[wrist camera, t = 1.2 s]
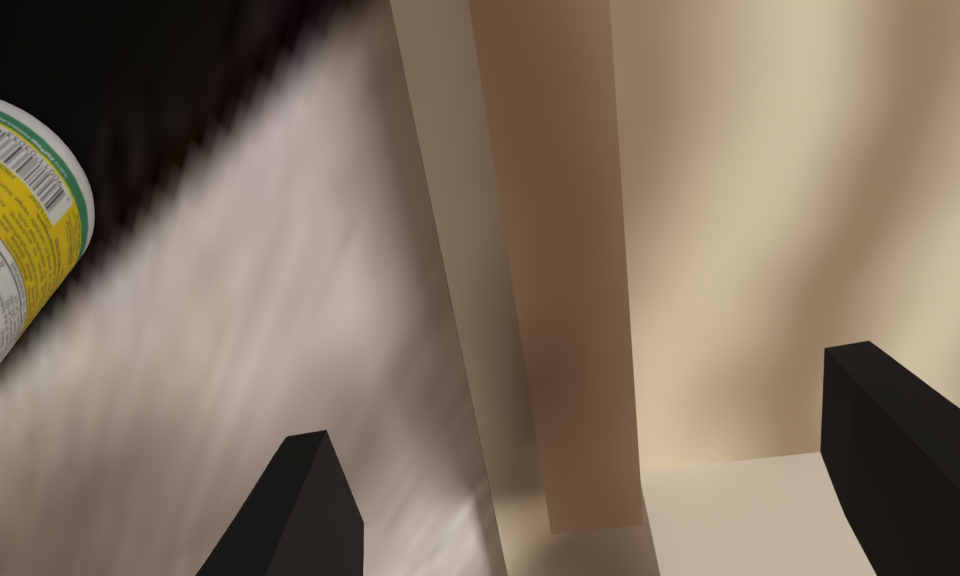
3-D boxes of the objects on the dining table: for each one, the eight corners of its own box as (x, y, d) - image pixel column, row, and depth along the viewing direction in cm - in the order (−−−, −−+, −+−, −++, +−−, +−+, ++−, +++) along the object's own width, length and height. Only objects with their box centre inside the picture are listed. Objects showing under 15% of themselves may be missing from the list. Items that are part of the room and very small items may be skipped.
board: (1530, -563, 14) (1599, -583, 13) (1070, 628, 31) (1086, 653, 30) (328, -335, 15) (319, -339, 15) (531, 675, 33) (533, 699, 32)
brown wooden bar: (569, -313, 15) (589, -321, 12) (625, 438, 25) (643, 525, 22) (433, -288, 15) (422, -291, 12) (543, 447, 25) (551, 534, 22)
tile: (879, 445, 25) (1001, 667, 19) (874, 474, 25) (991, 697, 20) (638, 471, 25) (685, 694, 20) (640, 499, 26) (686, 722, 20)
